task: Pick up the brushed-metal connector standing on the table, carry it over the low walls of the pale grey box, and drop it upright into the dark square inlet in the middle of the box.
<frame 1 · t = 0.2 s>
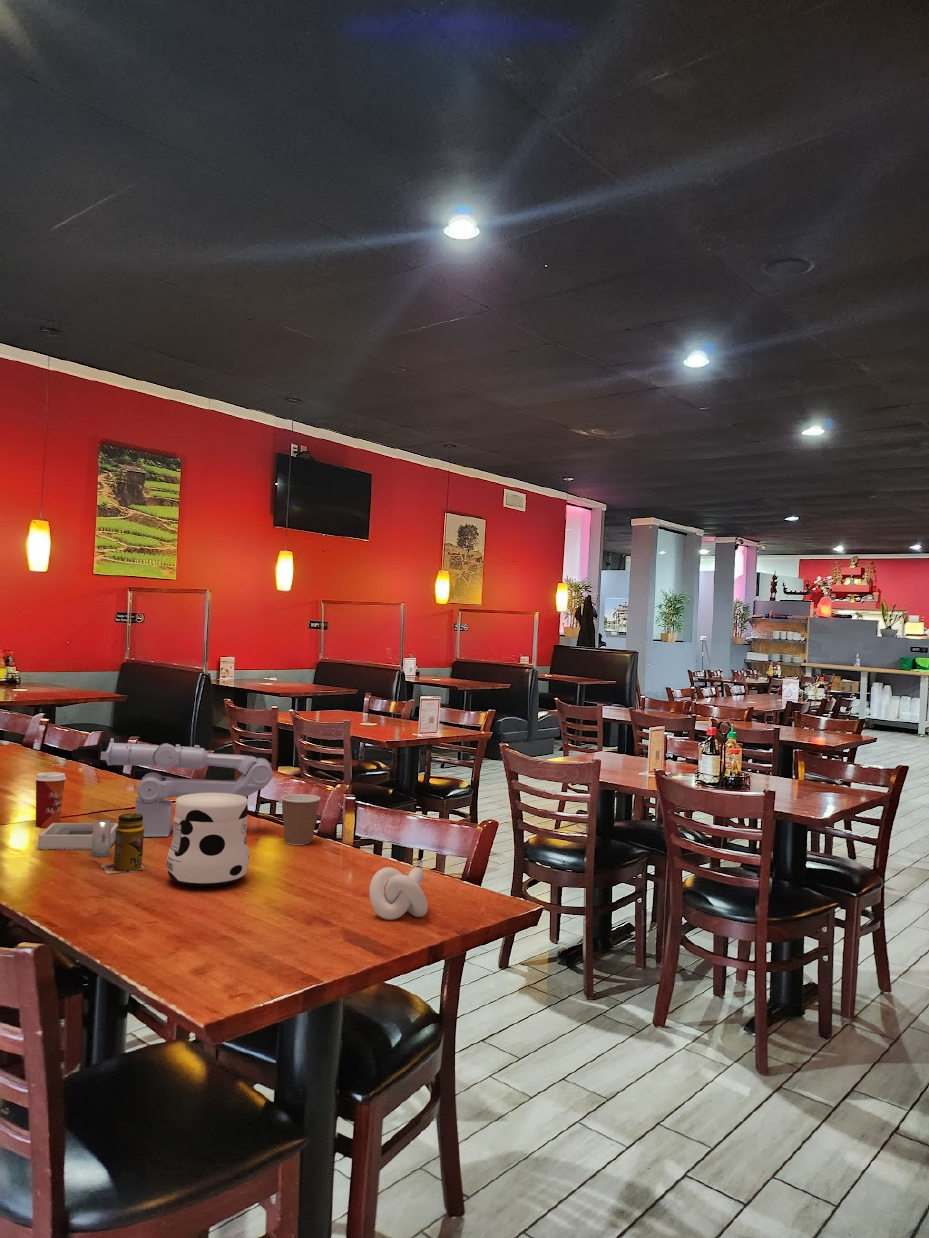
hand: (74, 752, 222), 21 cm above the table, tool horizontal, fingers open, 7 cm apart
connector: (100, 855, 204), on the table
white knot sculpture: (396, 916, 170), on the table
coffee cup: (298, 843, 226), on the table
milk container: (207, 881, 187), on the table
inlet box: (79, 843, 214), on the table
condiment: (123, 869, 193), on the table
paper cup: (47, 826, 230), on the table
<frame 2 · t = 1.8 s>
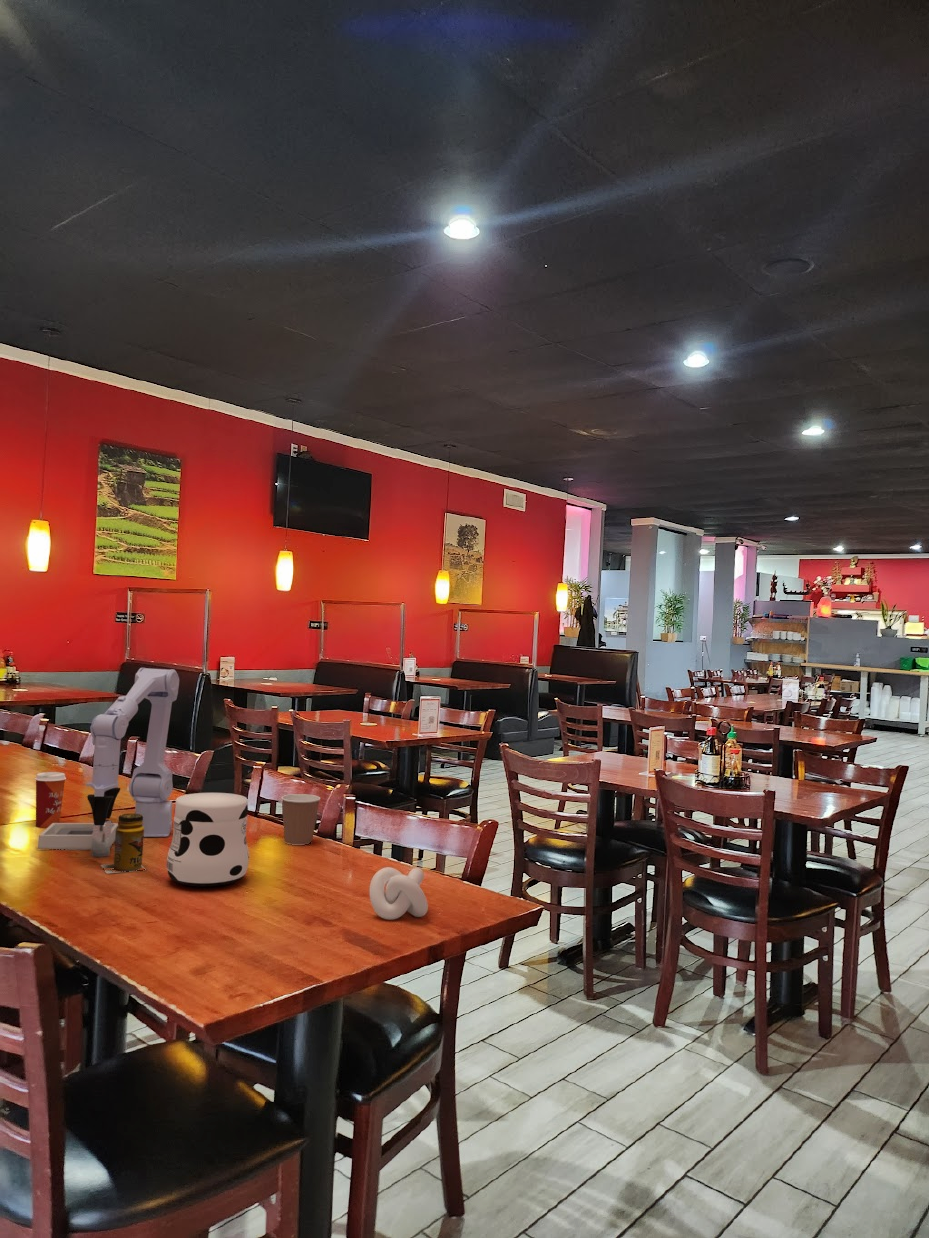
hand: (102, 821, 204), 8 cm above the table, tool pointing down, fingers open, 7 cm apart
nothing on the table moved.
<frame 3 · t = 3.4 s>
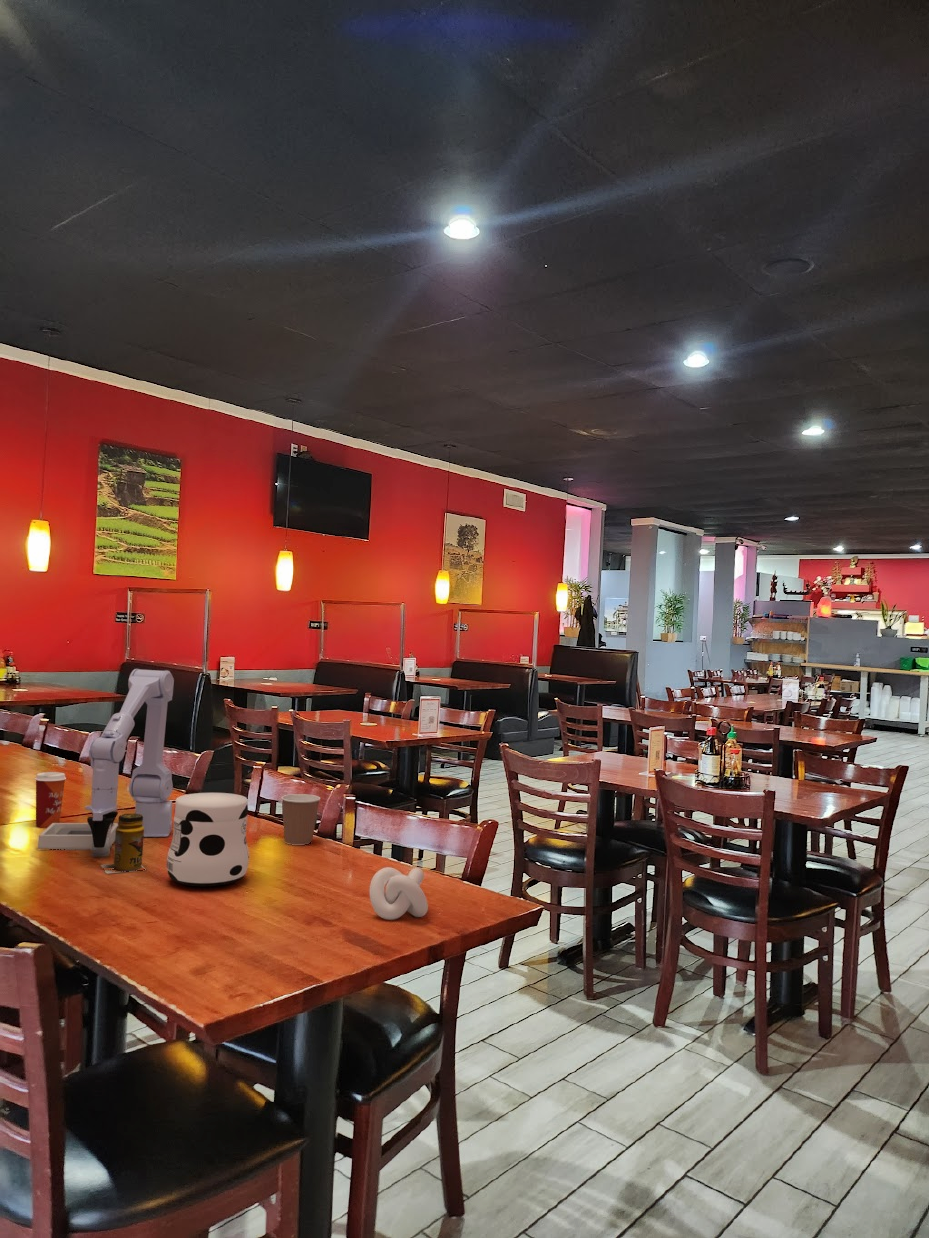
hand: (101, 844, 204), 2 cm above the table, tool pointing down, fingers closed on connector, 4 cm apart
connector: (100, 855, 204), on the table, touching gripper
everything else where it was.
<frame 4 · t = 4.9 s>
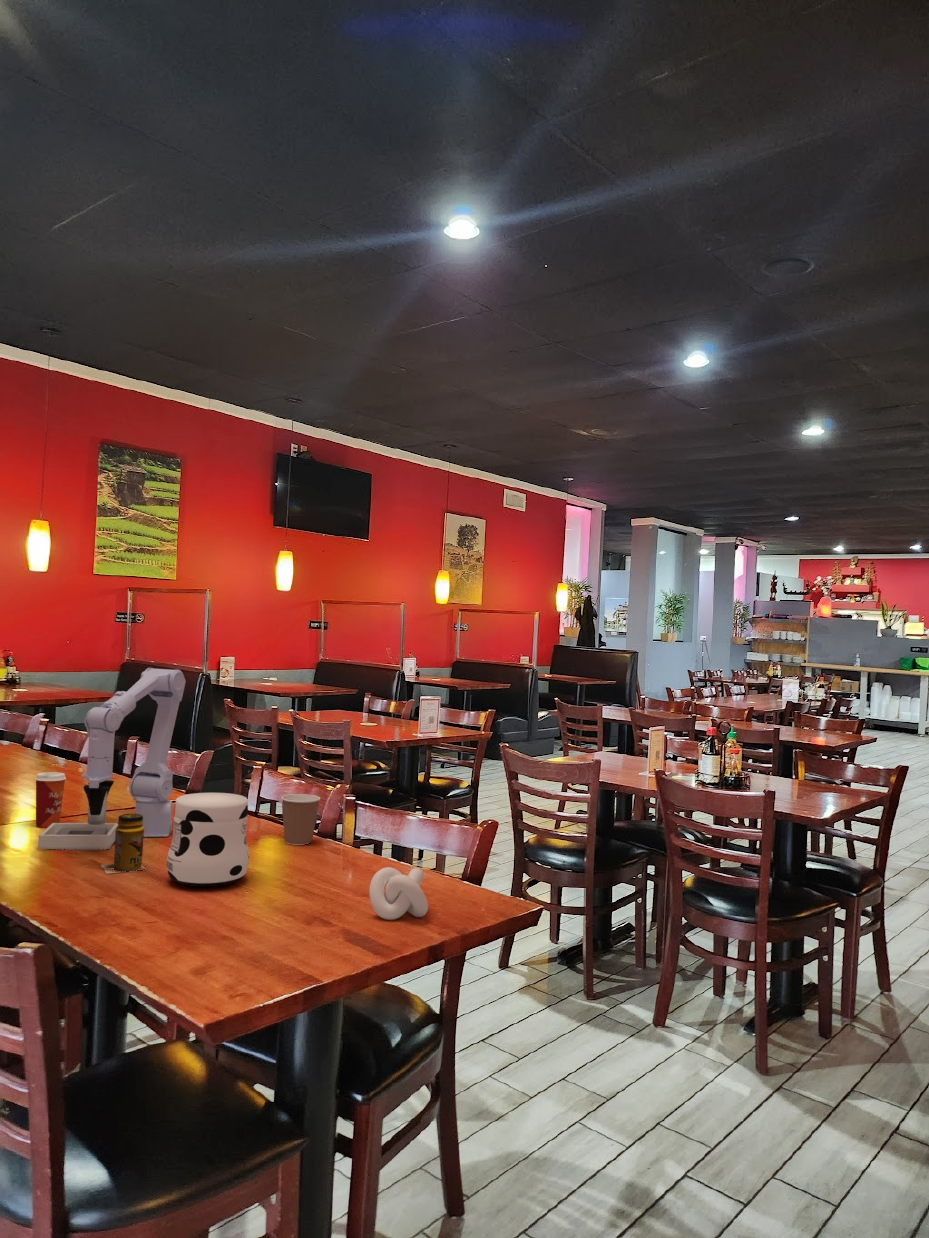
hand: (97, 812, 207), 9 cm above the table, tool pointing down, fingers closed on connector, 4 cm apart
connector: (96, 822, 207), point 7 cm above the table, touching gripper
everything else where it was.
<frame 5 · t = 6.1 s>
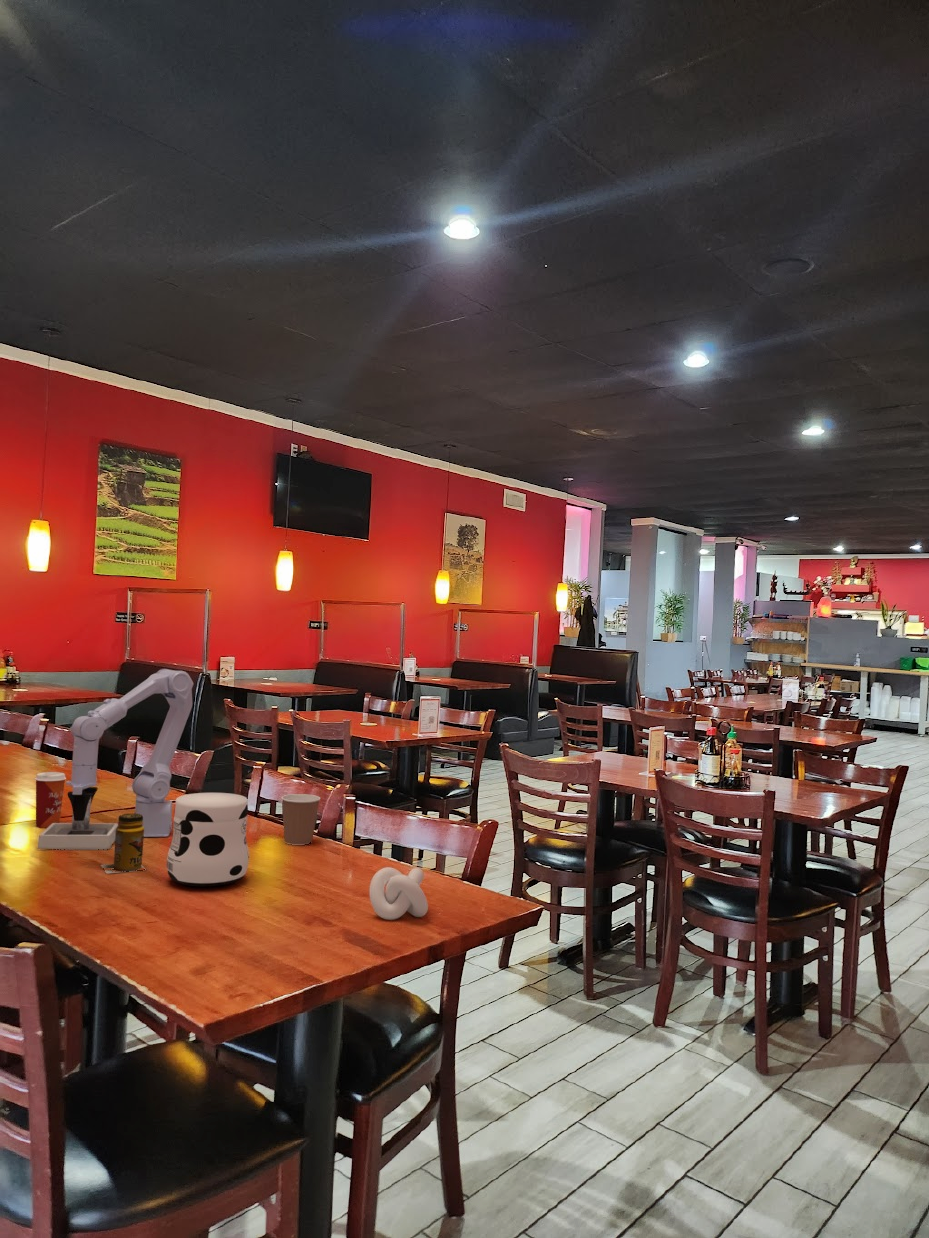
hand: (81, 818, 214), 6 cm above the table, tool pointing down, fingers closed on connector, 4 cm apart
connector: (80, 828, 214), point 4 cm above the table, touching gripper
everything else where it was.
when the fingers open (4 cm above the table, at t = 6.8 s): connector drops 1 cm, resting on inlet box.
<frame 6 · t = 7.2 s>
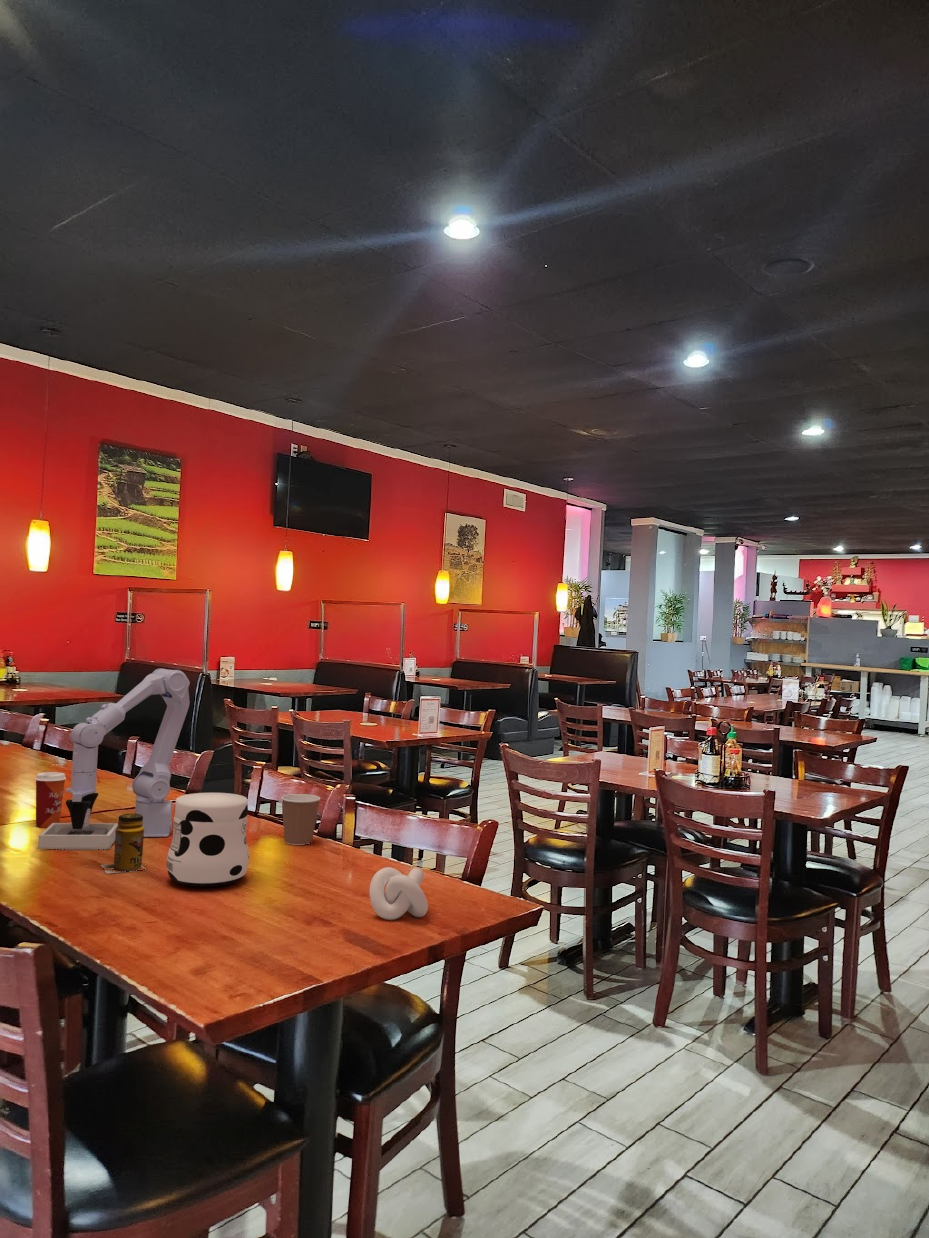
hand: (80, 825, 214), 4 cm above the table, tool pointing down, fingers open, 7 cm apart
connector: (79, 841, 214), resting on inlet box
everything else where it was.
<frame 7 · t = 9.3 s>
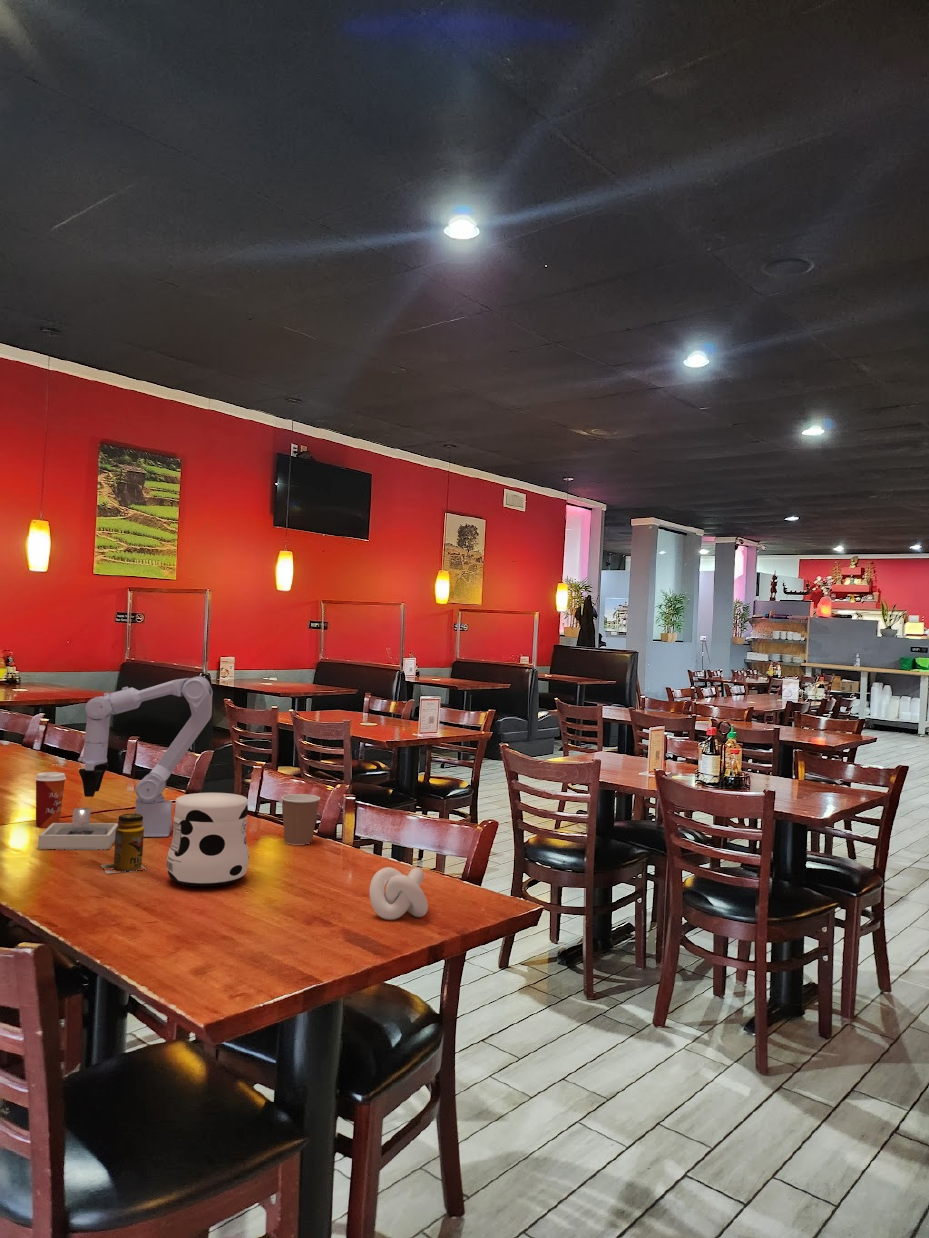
hand: (91, 793, 224), 10 cm above the table, tool pointing down, fingers open, 7 cm apart
nothing on the table moved.
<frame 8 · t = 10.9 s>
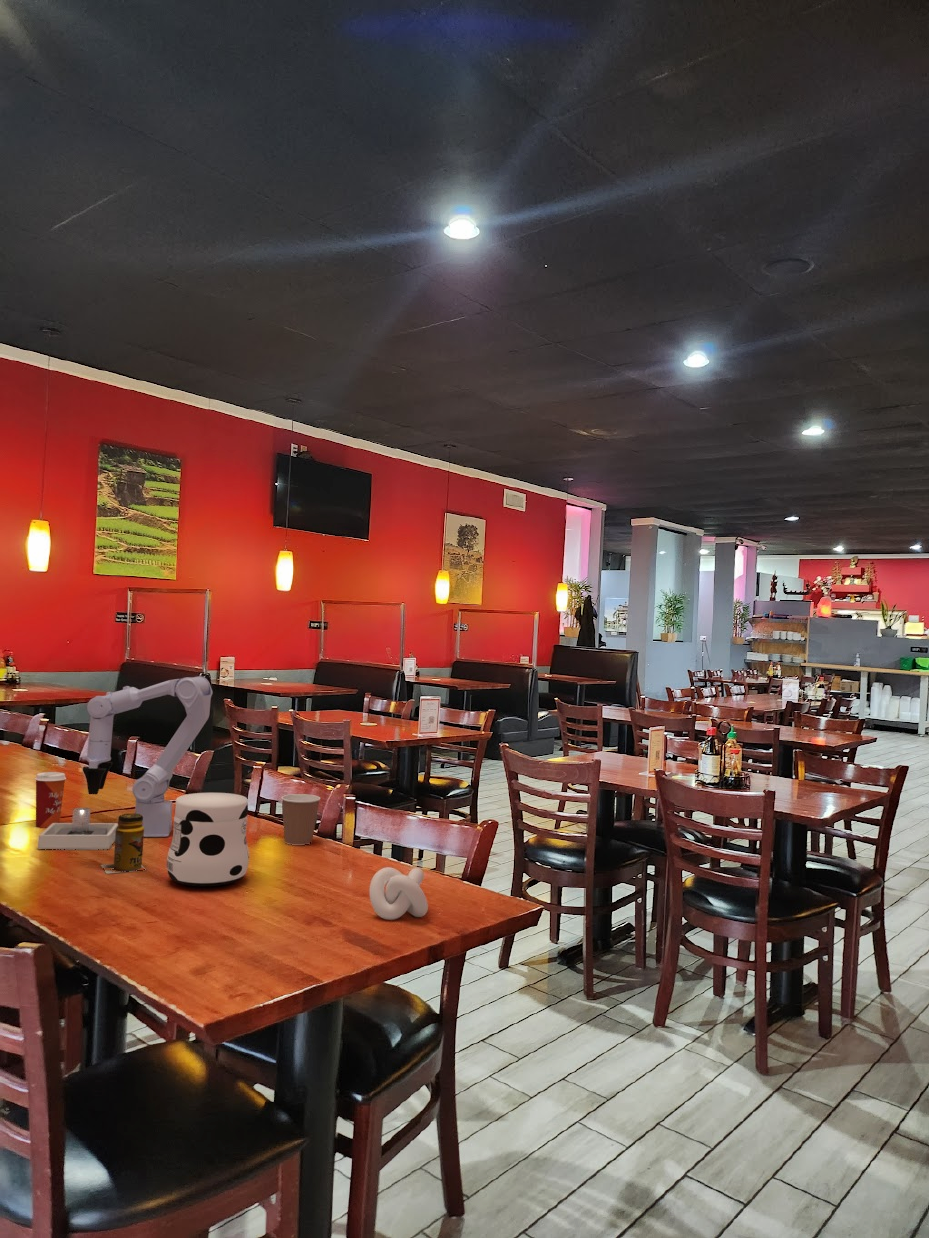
hand: (95, 791, 228), 10 cm above the table, tool pointing down, fingers open, 7 cm apart
nothing on the table moved.
at the end: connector 0.0 cm off-centre on the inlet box, point 0.5 cm above the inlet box's base; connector tilted 0°; the gripper is holding nothing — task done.
